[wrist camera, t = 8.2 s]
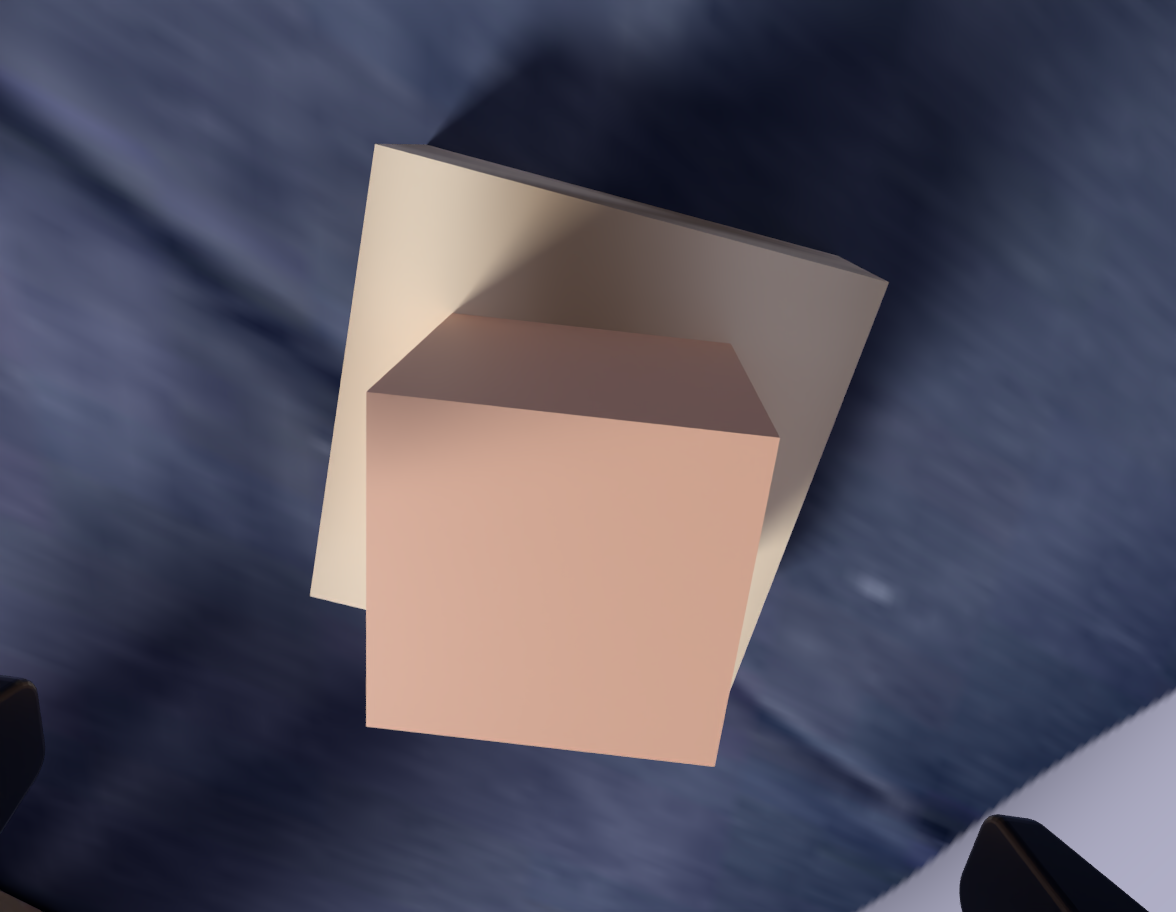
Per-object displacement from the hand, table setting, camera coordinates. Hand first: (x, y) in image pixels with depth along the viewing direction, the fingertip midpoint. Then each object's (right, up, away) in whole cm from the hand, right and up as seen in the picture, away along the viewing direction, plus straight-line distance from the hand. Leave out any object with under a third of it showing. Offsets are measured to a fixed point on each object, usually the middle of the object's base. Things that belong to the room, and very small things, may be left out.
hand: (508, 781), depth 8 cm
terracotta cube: (+1, +3, +8) cm, 8 cm away
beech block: (+1, +5, +11) cm, 12 cm away
